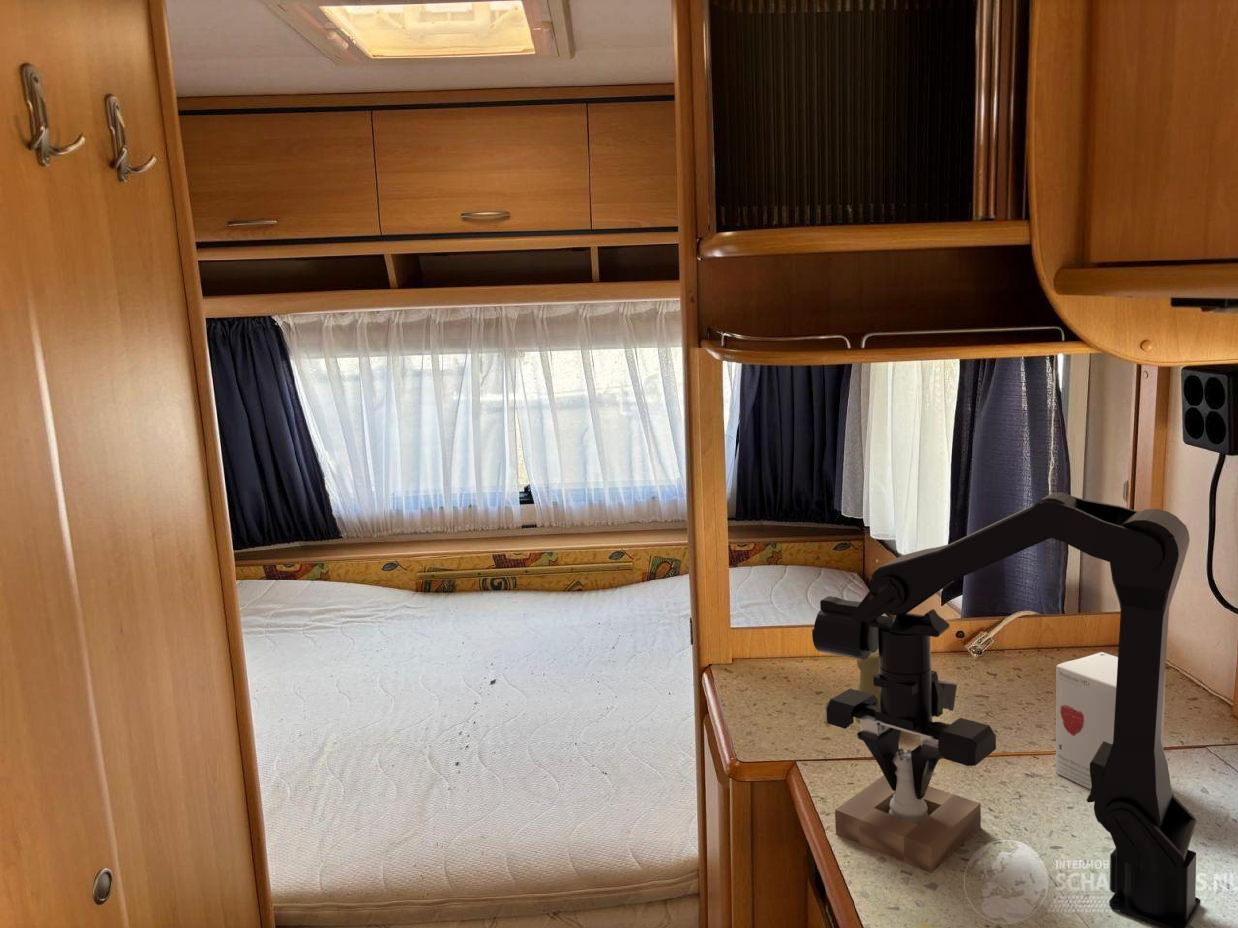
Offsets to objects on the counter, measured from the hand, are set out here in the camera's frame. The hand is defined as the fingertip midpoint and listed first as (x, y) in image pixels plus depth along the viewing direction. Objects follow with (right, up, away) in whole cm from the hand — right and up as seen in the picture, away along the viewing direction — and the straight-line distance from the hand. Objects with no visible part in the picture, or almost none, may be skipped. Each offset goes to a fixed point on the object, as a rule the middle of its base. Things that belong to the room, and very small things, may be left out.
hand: (908, 793), depth 103 cm
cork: (+5, -1, +31) cm, 32 cm away
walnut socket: (0, -5, +1) cm, 5 cm away
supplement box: (+29, -2, +9) cm, 30 cm away
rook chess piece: (0, -3, 0) cm, 3 cm away
